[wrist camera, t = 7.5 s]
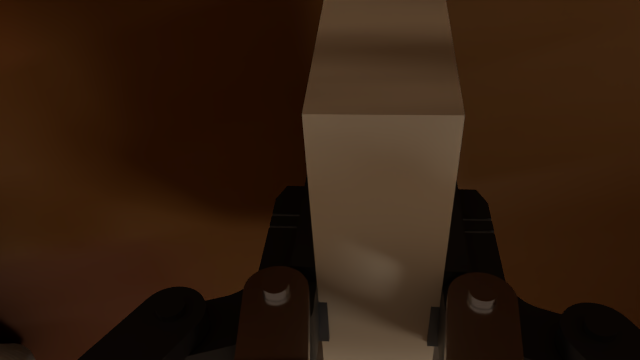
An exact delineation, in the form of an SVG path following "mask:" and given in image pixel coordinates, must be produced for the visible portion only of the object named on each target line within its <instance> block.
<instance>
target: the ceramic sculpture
mask: <svg viewBox="0 0 640 360" xmlns="http://www.w3.org/2000/svg"><path fill="white" fill-rule="evenodd" d="M0 360H35V358H34V356H33V354H32V352H31V351H30V350H29V349H28V348H26V347H25V346H23V345H22V344H16V343H9V344H0Z"/></svg>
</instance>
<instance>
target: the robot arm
mask: <svg viewBox="0 0 640 360" xmlns="http://www.w3.org/2000/svg"><path fill="white" fill-rule="evenodd" d="M329 339H330V335H329V321H328V307H327V302H319V301H318V290H317V279H316V267H315V256H314V245H313V234H312V223H311V211H310V200H309V189H308V178H307V177H306V182H305V186H287V187H286V188H285V189H284V191H283V192H282V193H281V194H280V195H279V196H278V197H277V198H276V201H275V205H274V210H273V216H272V218H271V222H270V228H269V230H268V234H267V238H266V243H265V247H264V251H263V255H262V259H261V263H260V267H259V271H258V272H256V273H255V274H253V275H252V276H251V277H250V278H249V279H248V280H247V282H246V283H245V286H244V289H243V290H241V291H239V292H237V293H234V294H232V295H229V296H225V297H220V298H216V299H211V300H207V301H205V300H204V298H203V297H202V295H201V294H200V293H199V292H197V291H196V290H194V289H191V288H187V287H171V288H167V289H164V290H161V291H159V292H157V293H155V294H153V295H152V296H150V297H149V298H148V299H147V300H145V301H144V302H143V303H142V304H141V305H140V306H139V307H137V308H136V309H135V310H134V311H133V312H132V313H131V314H129V315H128V316H127V317H126V318H125V319H124V320H122V321H121V322H120V323H119V324H118V325H117V326H116V327H114V328H113V329H112V330H111V331H110V332H109V333H108V334H106V335H105V336H104V337H103V338H102V339H101V340H100V341H98V342H97V343H96V344H95V345H94V346H93V347H91V348H90V349H89V350H88V351H87V352H86V353H85V354H83V355H82V356H81V357H80V358H79V359H78V360H316V358H317V351H318V342H319V341H328V342H329ZM427 346H435V347H438V349H439V360H640V329H638V328H637V327H636V326H635V325H634V324H633V323H632V322H631V321H630V320H628V319H627V318H626V317H625V316H624V315H622V314H621V313H619V312H618V311H616V310H614V309H612V308H610V307H607V306H604V305H601V304H596V303H579V304H575V305H572V306H570V307H569V308H567V309H566V310H565V311H564V312H563V314H558V313H555V312H551V311H548V310H544V309H541V308H538V307H535V306H532V305H530V304H528V303H526V302H525V301H523V300H521V299H520V298H519V297H517V295H516V293H515V291H514V290H513V288H512V287H511V286H510V285H509V284H508V283H507V282H506V281H505V278H504V274H503V269H502V265H501V260H500V256H499V251H498V247H497V242H496V238H495V234H494V229H493V224H492V221H491V216H490V211H489V207H488V203H487V202H486V201H485V200H484V198H483V197H482V196H481V195H480V194H479V193H478V192H477V190H463V189H458V187H457V181H456V186H455V194H454V201H453V209H452V217H451V224H450V232H449V239H448V247H447V254H446V262H445V269H444V277H443V284H442V292H441V300H440V307H431V310H430V319H429V327H428V336H427Z"/></svg>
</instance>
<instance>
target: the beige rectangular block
mask: <svg viewBox="0 0 640 360" xmlns="http://www.w3.org/2000/svg"><path fill="white" fill-rule="evenodd" d="M464 118H465V113H464V107H463V101H462V95H461V89H460V83H459V77H458V71H457V65H456V58H455V52H454V46H453V40H452V34H451V28H450V22H449V16H448V10H447V4H446V0H324V2H323V7H322V12H321V17H320V22H319V28H318V33H317V38H316V43H315V48H314V54H313V59H312V64H311V69H310V74H309V80H308V85H307V90H306V95H305V100H304V106H303V111H302V121H303V133H304V144H305V155H306V166H307V178H308V189H309V200H310V211H311V223H312V234H313V245H314V256H315V267H316V279H317V290H318V301H319V302H327V307H328V321H329V335H330V339H329V342H328V341H319V342H318V351H317V358H316V360H439V349H438V347H435V346H427V336H428V327H429V319H430V310H431V307H440V300H441V292H442V284H443V277H444V269H445V262H446V254H447V247H448V239H449V232H450V224H451V217H452V209H453V201H454V194H455V186H456V179H457V171H458V164H459V156H460V149H461V141H462V134H463V126H464Z"/></svg>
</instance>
